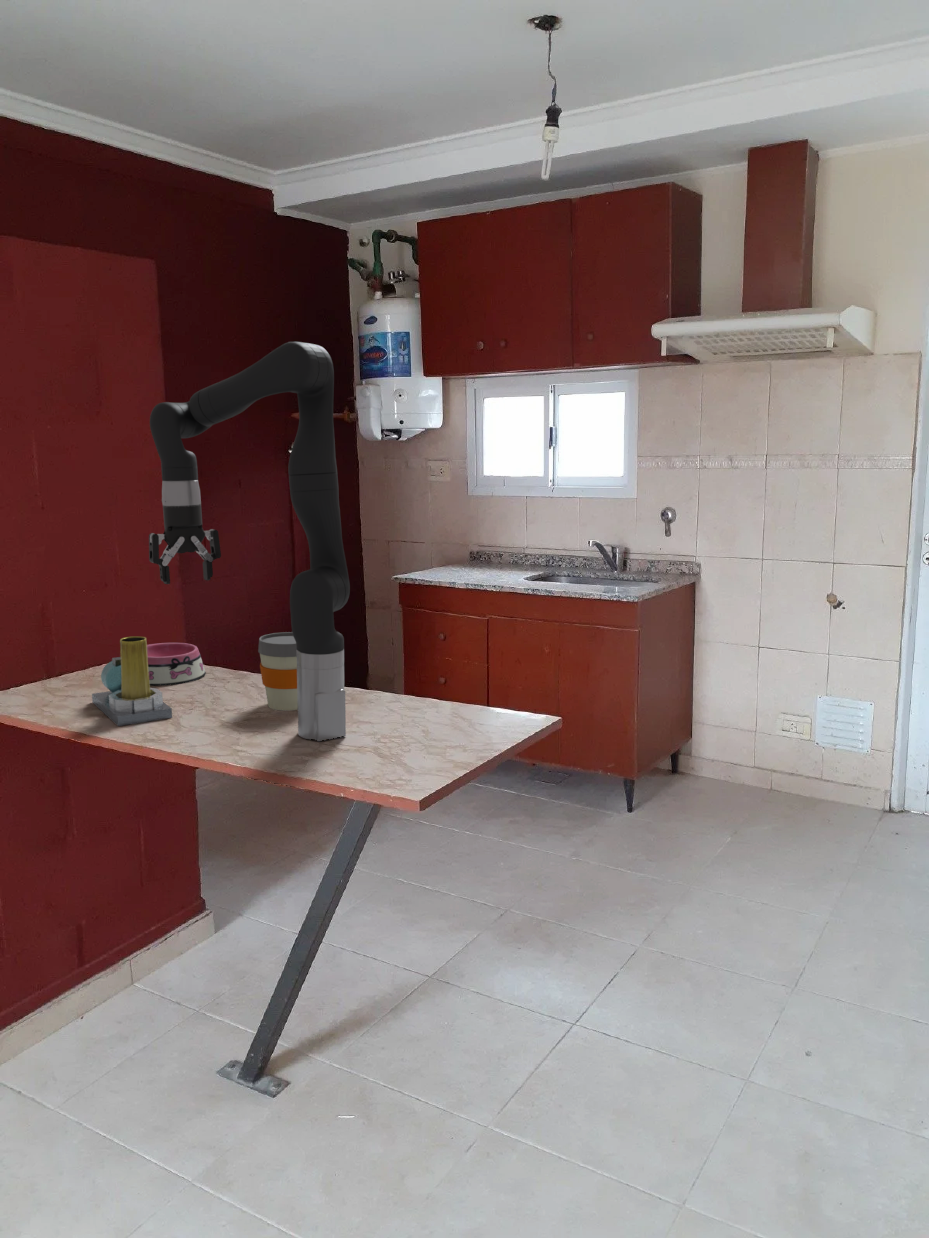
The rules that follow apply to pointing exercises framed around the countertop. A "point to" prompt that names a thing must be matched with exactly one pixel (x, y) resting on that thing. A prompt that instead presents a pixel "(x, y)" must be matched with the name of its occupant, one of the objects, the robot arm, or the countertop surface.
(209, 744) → the countertop surface
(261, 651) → the reusable coffee cup
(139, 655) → the vase
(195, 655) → the dog bowl
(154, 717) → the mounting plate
